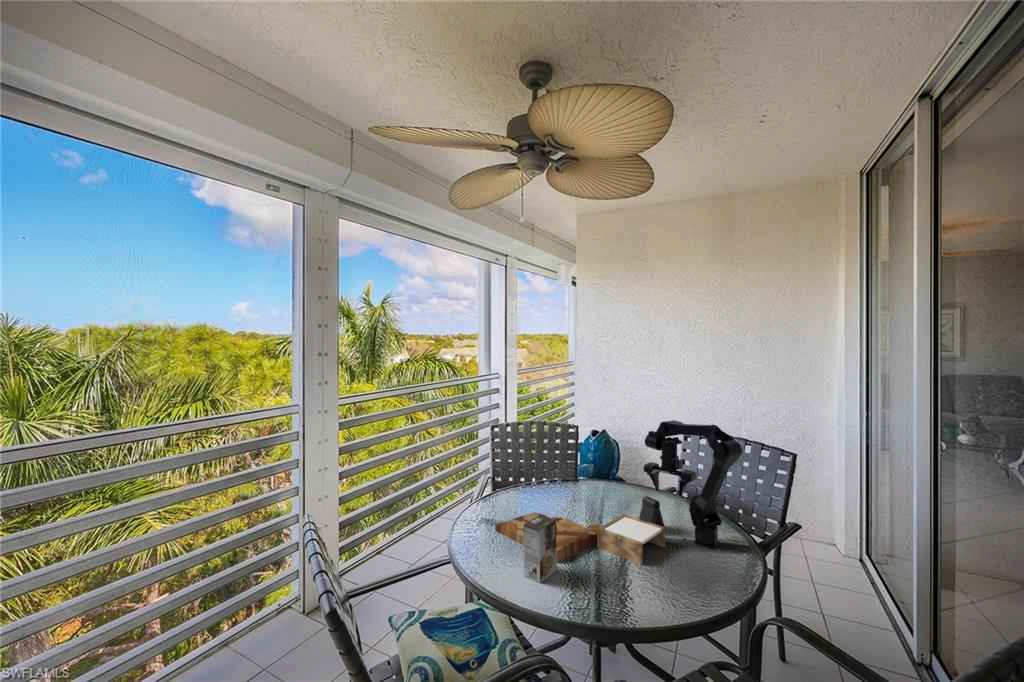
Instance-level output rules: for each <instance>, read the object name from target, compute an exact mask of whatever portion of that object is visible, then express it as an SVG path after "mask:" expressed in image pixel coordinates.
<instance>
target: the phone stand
mask: <svg viewBox="0 0 1024 682" xmlns="http://www.w3.org/2000/svg"><path fill="white" fill-rule="evenodd" d="M641 502H642V504H641V508H640V513H639V517H638V519H640V520H643V521H646V522H649V523H653V524H656V525H659V526H662V527H665V532H666V531H667V530H666V526H665V522H664V519H663V515H662V511H661V504H660V503H661V502H660V501H659V500H657V499H655V498H652V497H650V496H647V495H644V496H643V497H642V500H641Z"/></svg>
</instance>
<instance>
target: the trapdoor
mask: <svg viewBox="0 0 1024 682" xmlns="http://www.w3.org/2000/svg"><path fill="white" fill-rule="evenodd" d="M604 530H607V531H610V532H612V533H615V534H618V535H621V536H624V537H626V538H629V539H632V540H635V541H638V542H640V543H642V546H643V545H644V544H646V543H647V541H649V540H650V539H652V538H653V537H654V536H656V535H657V534H659V533H660V532H662V529H661V528H658V527H655V526H652V525H649V524H646V523H643V522H640V521H636V520H633V519H630V518H627V517H624V518H623V519H621V520H619V521H617V522H616V523H614V524H612V525H610V526H609V527H607V528H605V529H604Z"/></svg>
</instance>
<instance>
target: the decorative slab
mask: <svg viewBox="0 0 1024 682" xmlns="http://www.w3.org/2000/svg"><path fill="white" fill-rule="evenodd" d="M539 515H543V516H546V517H549V518H551V519H554V520H556V557H557V564H559V563H562V562H564V561H565V560H567V559H570V558H571V557H574V556H575V555H577V554H579V553H581V552H583V551H585V550H587V549H590V548H591V547H592V546H596V545H598V536H597V533H596V531H594V530H592V529H591V528H588V527H586V526H582V525H580V524H579V523H577V522H575V521H574V520H572V519H570V518H562V517H556V516H552V517H551V516H548V515H545V514H542V513H539V512H536V511H535V512H532V513H527V514H524V515H520V516H517V517H514V518H512V519H509V520H507V521H504V522H503V521H502V522H499V523H496V524H495V532H497V533H499V534H501V535H502V536H504V535H505V536H504V537H506V536H507V537H506V538H508V537H509V538H508V539H509V540H512V541H514V542H516V543H518V544H520V545H522V546H524V524H525V523H527V522H529V521H530V520H532V519H534V518H536V517H537V516H539Z"/></svg>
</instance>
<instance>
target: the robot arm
mask: <svg viewBox="0 0 1024 682" xmlns="http://www.w3.org/2000/svg"><path fill="white" fill-rule="evenodd" d="M658 425H659V426H658V428H657V430H656V431H654V430H650V431H648V433H647V435H646V436H645V438H644V445H645V447H647V448H649V449H653V450H656V451H661V455H660V456H659V459H660V460H661V466H660V464H659V463H657V462H652V461H650V462H647V463H645V464H644V465H643V472H644V473H646V475H647V476H649V478H650V480H651V481H652V483H653V486H654V488H655V491H656V492H658V491H659V490H660V482H659V481H660V480H659V476H660V473H663V474H668V475H672V476H677V477H679V478H680V480H679V497H680V498H681V497H683V495H684V492H685V490H686V487H687V485H688V484H689V483H692V482H694V481H695V480H696V479H697V473H696V471H694V470H691V469H684V470H682V469H683V467H684V461H683V460H681V459H680V458H679V457H680V456H679V455H678V445H681V444H683V441H682V440H681V439H680V438H679V437H678V436H679V435H682V436H697V437H704V438H706V440H707V443H708V446H709V447H710V448H711V449H712V450H713V453H712V457H713V461H714V462H713V464H712V467H711V469H710V472H709V474H708V477H707V479H706V481H705V484H704V487H703V488H702V491H701V493H700V494H698V495H693V496H692V497H691V502H690V503H689V504H688V506H689V508H688V512H689V515H690V518H691V523H692V525H693V526H694V539H695V540H694V541H693V543H694V544H697V545H699V546H703V547H706V548H709V549H714V548H716V547H717V546H718V545H719V544H720V541H719V540H718V537H719V534H718V533H719V532H718V531H719V530H718V529H719V528H718V527H719V526H722V523H723V520H722V519H721V517H720V515H719V514H718V512H717V504H716V499H717V497H718V495H719V492H720V491H721V489H722V488H721V487H722V486H723V483H724V481H725V478H726V476H727V474H728V472H729V470H730V467H732V466H733V465H734V464H736V463H737V461H738V460H739V459H740V458H741V456H742V454H743V447H742V446H741V444H740V443H739V442H738V441H736V440H735V439H734V438H733V437H732V435H730V434H729V433H726V432H725V431H723V430H722V429H721V428H720V427H719V426H718V425H716V424H692V423H683V422H681V421H678V420H674V419H673V420H665V421H661V422H660V423H659V424H658ZM674 436H675V437H674Z"/></svg>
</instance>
